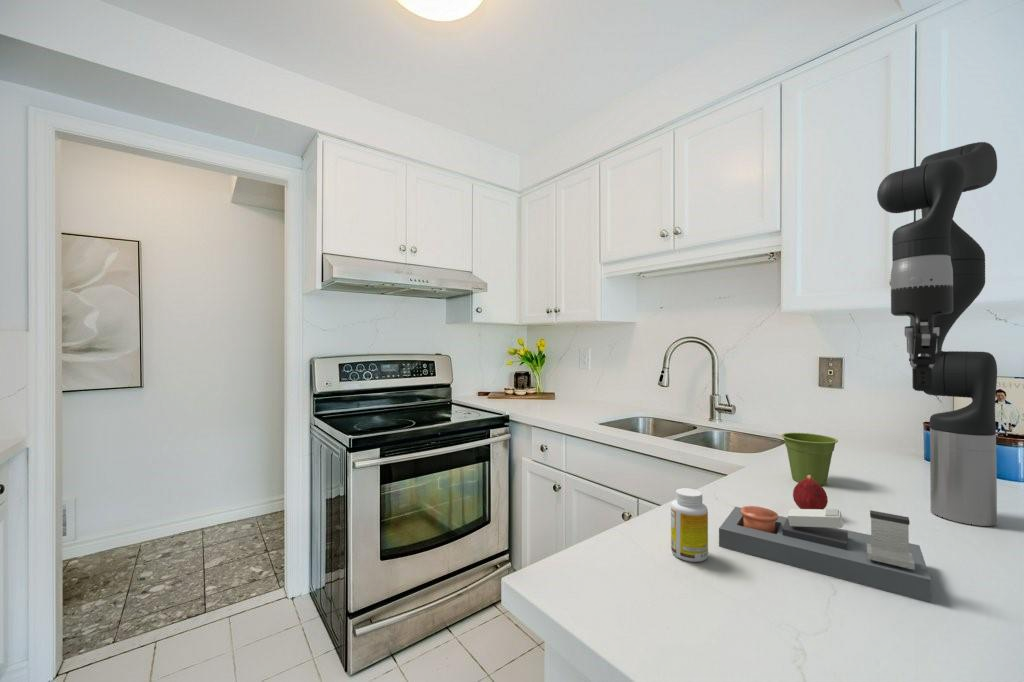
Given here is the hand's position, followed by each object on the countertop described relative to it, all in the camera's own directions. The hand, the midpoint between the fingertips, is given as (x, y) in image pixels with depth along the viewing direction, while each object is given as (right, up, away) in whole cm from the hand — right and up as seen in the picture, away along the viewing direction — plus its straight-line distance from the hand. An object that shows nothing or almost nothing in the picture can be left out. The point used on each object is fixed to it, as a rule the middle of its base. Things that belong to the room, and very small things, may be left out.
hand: (921, 390), depth 72 cm
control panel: (-19, -27, -1) cm, 33 cm away
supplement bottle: (-39, -27, -1) cm, 48 cm away
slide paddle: (-14, -23, -10) cm, 29 cm away
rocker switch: (-19, -21, -1) cm, 28 cm away
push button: (-25, -26, +4) cm, 36 cm away
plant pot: (+7, -28, +38) cm, 48 cm away
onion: (-8, -27, +16) cm, 32 cm away
